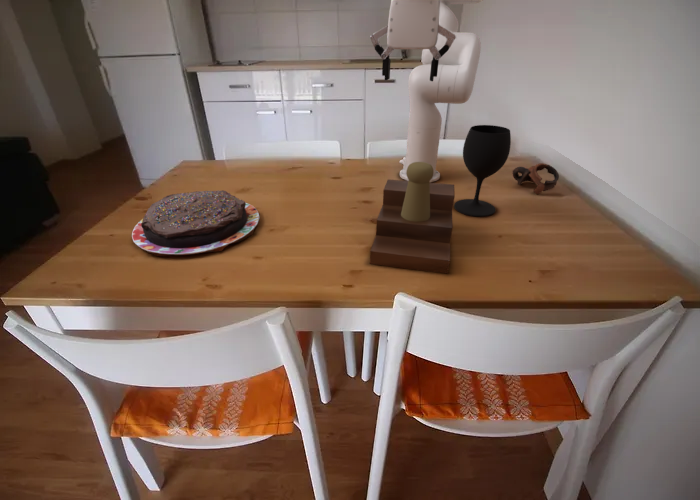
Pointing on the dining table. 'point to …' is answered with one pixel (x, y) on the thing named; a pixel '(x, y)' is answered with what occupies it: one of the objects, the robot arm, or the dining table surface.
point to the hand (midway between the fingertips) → (409, 80)
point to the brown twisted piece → (536, 176)
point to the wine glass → (483, 163)
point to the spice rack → (414, 231)
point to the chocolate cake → (195, 223)
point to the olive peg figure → (417, 192)
